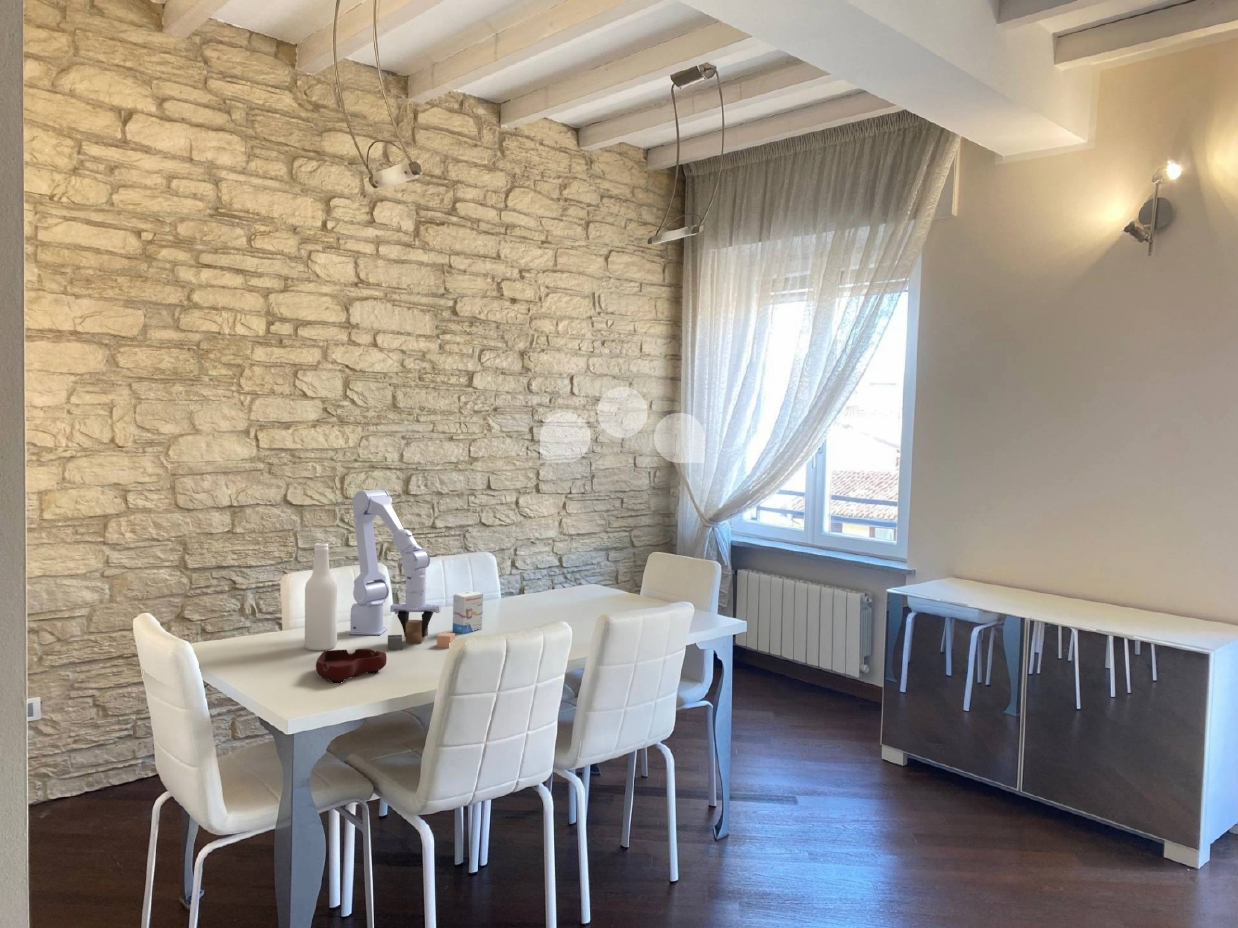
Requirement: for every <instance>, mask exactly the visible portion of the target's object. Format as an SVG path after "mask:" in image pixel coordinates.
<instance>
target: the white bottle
mask: <svg viewBox="0 0 1238 928" xmlns="http://www.w3.org/2000/svg"><path fill="white" fill-rule="evenodd" d="M329 545H330V544H329V543H328V542H316V543H314V544H313V547H314V548H313V550H314V551H313V552H314V555H313V563H312V573H311V576H310V577H309V578H308V580H307V581H306V582H305V586H304V647H305V649H307V650H308V649H309V650H308V651H311V650H315V651H314V652H324V650H325V651H328V650H333V649H335V648H336V646H337V645H338V584H337V581H336V580H335V578H334V577H333V576H332V574H331V571H330V559H329V558H330V556H329V549H330V548H329ZM332 648H333V649H332Z"/></svg>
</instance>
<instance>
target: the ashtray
mask: <svg viewBox="0 0 1238 928" xmlns="http://www.w3.org/2000/svg"><path fill="white" fill-rule="evenodd" d="M387 659H388V658H387V653H386V652H384V651H379V650H376V651H375V650H374V649H371V648H356V649H355V650H354V652H352V653H351V652H348V650H347V649H330V650H325V651H322V653H321V654H320V655H319V656H318V658H317V660H316V662H315V670H316V674H317V675H318V676H319V677H321V678H322V679H323V680H327V681H331V682H332V683H331V684H334V683H339V684H342V683H341V682H343V681H344V682H345V681H346V680H349V679H350V678H351V677H352V678H356V677H361V676H362V675H364V674H377V673H379V672H378V671H380V670H382V669H383V668H384V667H386V665H387ZM367 672H368V673H367ZM376 672H377V673H376ZM344 682H343V683H344Z"/></svg>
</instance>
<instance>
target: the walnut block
mask: <svg viewBox="0 0 1238 928" xmlns="http://www.w3.org/2000/svg"><path fill="white" fill-rule="evenodd" d="M425 639H426V636H425V637H422V619H409V621H408V622H406V637H405V644H413V643H417V644H420V645H421V644H422V643H423V642H424V641H425ZM417 644H416V645H417Z"/></svg>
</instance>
